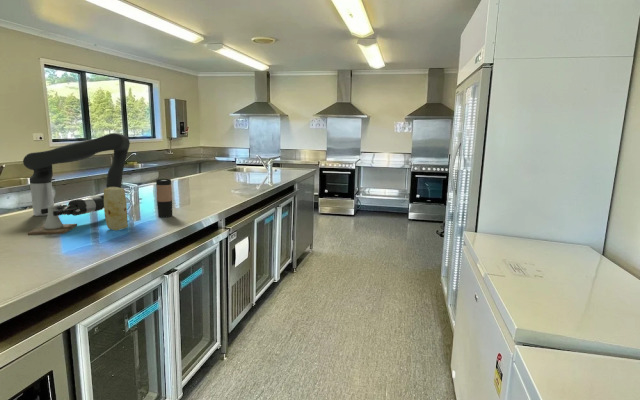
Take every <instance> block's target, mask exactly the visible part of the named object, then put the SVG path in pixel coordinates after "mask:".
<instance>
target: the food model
mask: <svg viewBox="0 0 640 400" xmlns="http://www.w3.org/2000/svg"><path fill="white" fill-rule="evenodd" d="M103 195H104V208H103V212H104V217H105V224H106V226H107V228H108V230H109V229H110V230H112V231H115V232H116V231H121V230H124V229H127V228H128V227H129V226H128V225H129V224H128V205H127V204H128V203H127V197H126V190H125V188H123V187H121V188H119V187H108V188H107V187H106V188H103Z"/></svg>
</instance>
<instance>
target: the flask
mask: <svg viewBox="0 0 640 400" xmlns="http://www.w3.org/2000/svg"><path fill="white" fill-rule="evenodd" d="M47 208H48V215H46V219H45V223H44V224H43V225H44V227H43V228H44V229H57V228H61V227H63V224H64V223H63V222H62V221H61V218H59V215H58V216H54V215H53V211H56V209H55V208H56V205H54V206H48V207H47Z"/></svg>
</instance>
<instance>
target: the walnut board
mask: <svg viewBox="0 0 640 400" xmlns="http://www.w3.org/2000/svg"><path fill="white" fill-rule="evenodd" d="M62 224H63V227H61V228H57V229H44V228H43V227H44V225H45V224H42V225H40V226H38V227H36V228H34V229H32V230H30V231H27V235H28V236H29V235H31V236H32V235H59V234H60V235H61V234H62V235H63V234H66V233H67V232H69V231H71V230H72V229H75V228H76V227H78V223H62Z"/></svg>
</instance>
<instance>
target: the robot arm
mask: <svg viewBox="0 0 640 400" xmlns="http://www.w3.org/2000/svg"><path fill="white" fill-rule="evenodd" d="M130 144H131V141H130V139H129V137H128V136H127V135H125V134H123V133H119V132H112V133H108V134H105V135H102V136H100V137H96V138H92V139H87V140H86V139H85V140H82V141H76V142H74V143H69V144H65V145H61V146H59V147H55V148H53V149H49V150H44V151H38V152H37V151H36V152H30V153H28V154H26V155H25V156H24V157H23V159H22V164H23V166H24V167H25V168H27V169H28V170H31V171H33V174H32V175H31V176H30V177H29V186H30V196H31V203H32V212H33V216H37V217H41V216H42V217H43V216H48V208H47V207H48V206H56V208H55V209H56V211H53V215H54V216H58V217H59V216H63V215H64V216H66V215H67V216H69V215H72V216H75V217H76V216H81V215H85V214H89V213H93V212H99V211H101V210H104V194H102V195H99V196H95V197H85V198H84V197H83V198H79V199H72V200H70V201H68V203H67V204H57V205H55V203H54V201H55V200H54V192H53V183H52V181H53V180H52V179H53V165H57V164H67V163H73V162H79V161H82V160H86V159H89V158H91V157H93V156H95V155H96V154H99V153H101V152H102V153H103V152H107V151H108V152H109V151H113V159H112V162H111V165H110V167H109V169H108V172H107V175H106V186H105V187H106V188H108V187H119V188H122V184H123V175H124V174H123V173H124V169H125V163H126V160H127V155H128V152H129V149H130Z"/></svg>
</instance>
